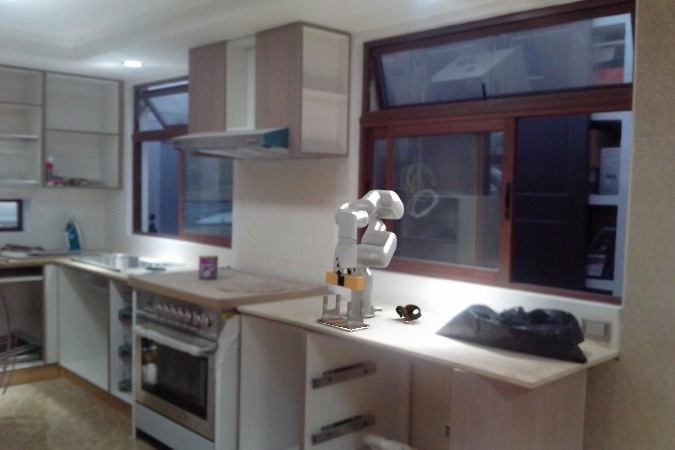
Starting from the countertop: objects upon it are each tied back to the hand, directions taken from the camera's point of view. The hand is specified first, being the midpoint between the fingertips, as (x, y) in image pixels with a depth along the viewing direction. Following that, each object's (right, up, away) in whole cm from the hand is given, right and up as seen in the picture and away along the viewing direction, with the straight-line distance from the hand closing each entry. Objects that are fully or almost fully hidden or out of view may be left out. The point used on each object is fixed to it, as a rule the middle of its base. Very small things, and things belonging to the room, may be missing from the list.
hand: (344, 284), depth 263 cm
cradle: (-1, -17, +1) cm, 17 cm away
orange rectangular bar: (0, -1, 0) cm, 1 cm away
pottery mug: (+28, -17, +16) cm, 36 cm away
